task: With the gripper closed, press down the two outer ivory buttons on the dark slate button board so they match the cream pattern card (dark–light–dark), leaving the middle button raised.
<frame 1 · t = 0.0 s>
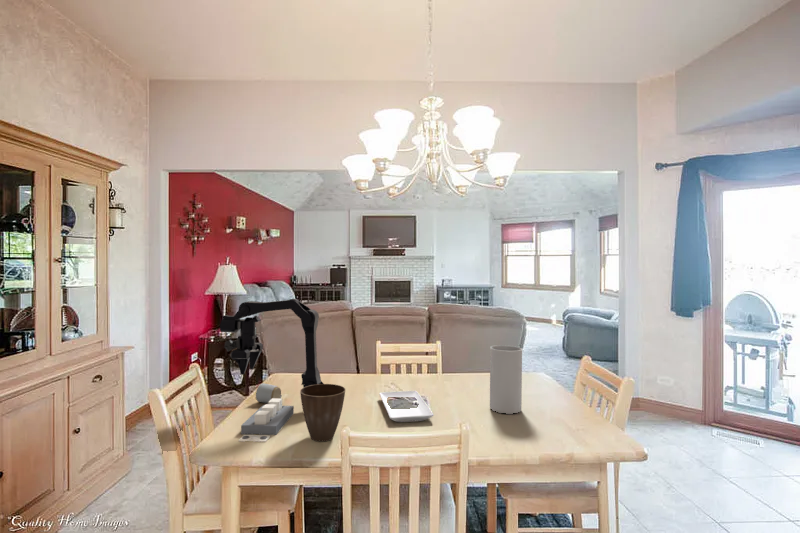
hand: (247, 371, 169), 15 cm above the table, tool pointing down, fingers open, 9 cm apart
tray: (404, 411, 169), on the table
button 1: (262, 418, 146), point 4 cm above the table, slide at 0.0 cm
pattern card: (254, 438, 139), on the table
button 2: (275, 405, 160), point 4 cm above the table, slide at 0.0 cm
cylinder vase: (505, 410, 171), on the table
ceramic mug: (270, 402, 178), on the table
button board: (269, 423, 153), on the table
button middle: (269, 411, 153), point 4 cm above the table, slide at 0.0 cm
plant pot: (322, 437, 141), on the table
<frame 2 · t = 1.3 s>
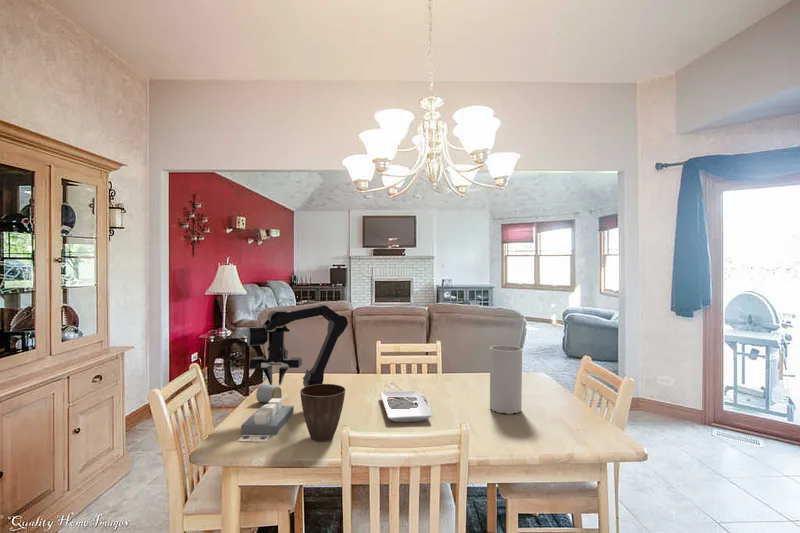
hand: (275, 384, 160), 12 cm above the table, tool pointing down, fingers open, 3 cm apart
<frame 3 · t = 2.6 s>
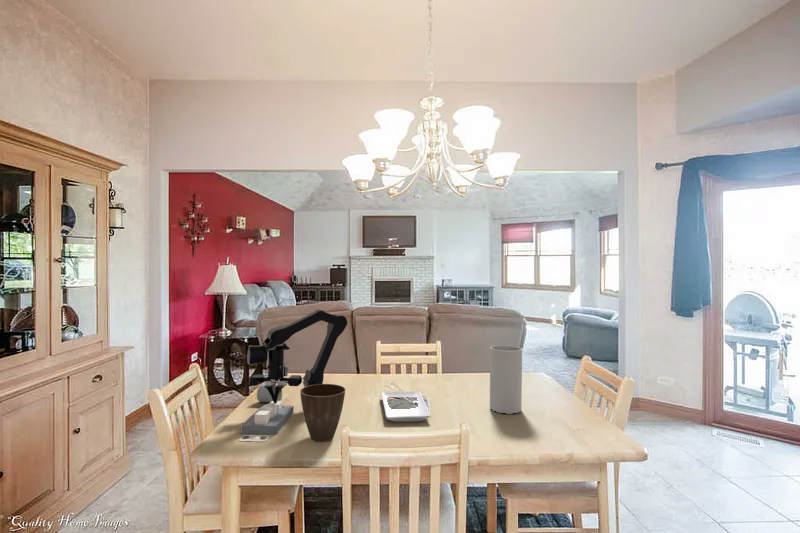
hand: (275, 402, 160), 5 cm above the table, tool pointing down, fingers closed, pressing on button 2
button 2: (275, 408, 160), point 3 cm above the table, slide at 1.1 cm, touching gripper
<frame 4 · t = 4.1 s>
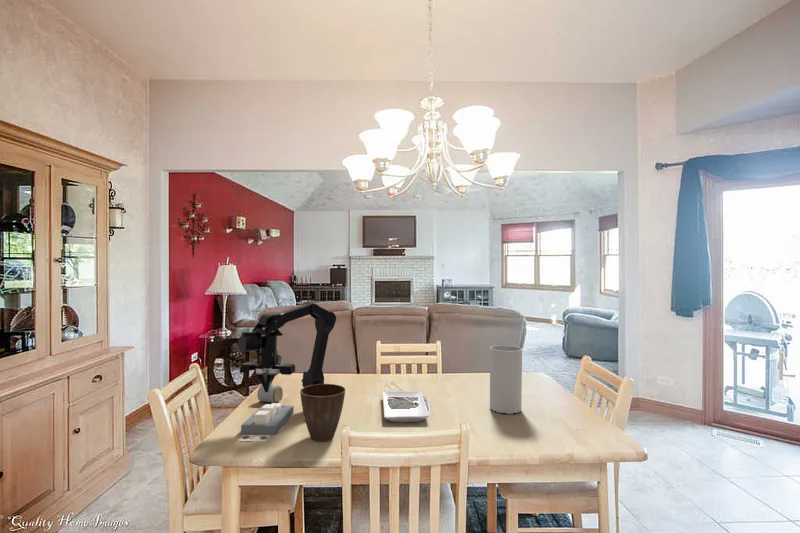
hand: (266, 392, 152), 12 cm above the table, tool pointing down, fingers closed
button 2: (275, 410, 160), point 2 cm above the table, slide at 1.8 cm
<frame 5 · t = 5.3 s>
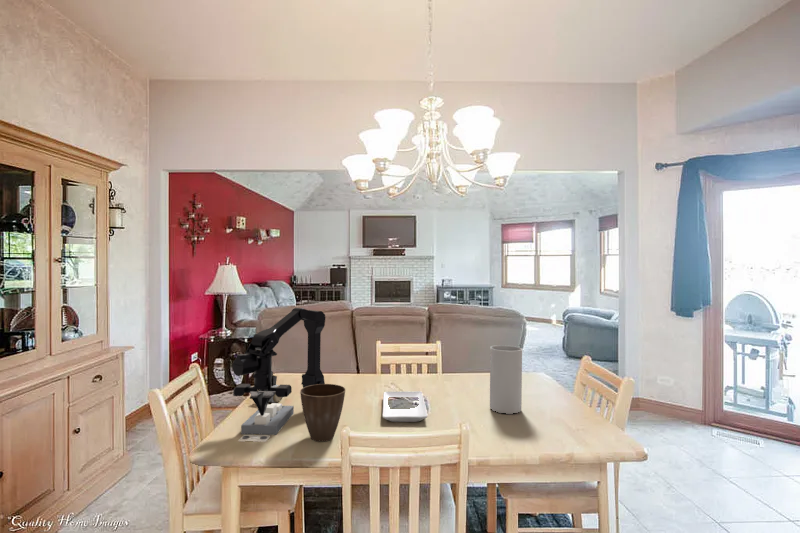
hand: (262, 415, 146), 5 cm above the table, tool pointing down, fingers closed, pressing on button 1
button 1: (262, 420, 146), point 3 cm above the table, slide at 0.8 cm, touching gripper
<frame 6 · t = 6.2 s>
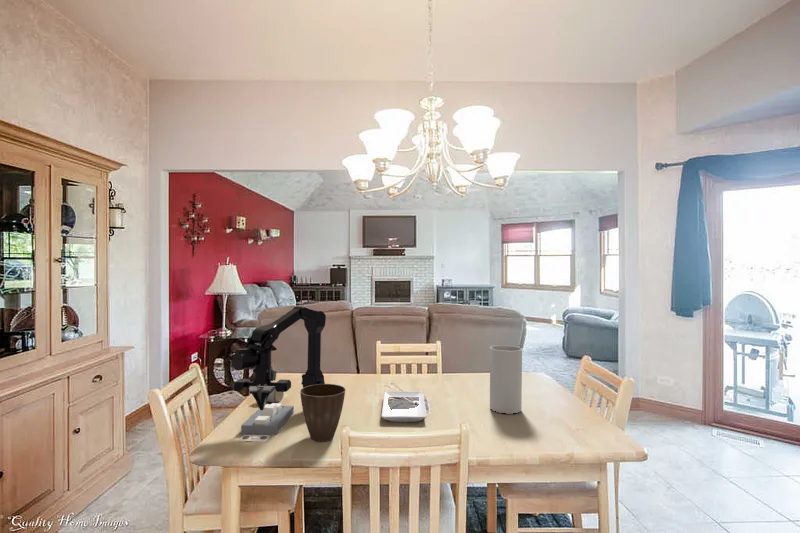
hand: (262, 409, 146), 7 cm above the table, tool pointing down, fingers closed
button 1: (262, 423, 146), point 2 cm above the table, slide at 1.8 cm
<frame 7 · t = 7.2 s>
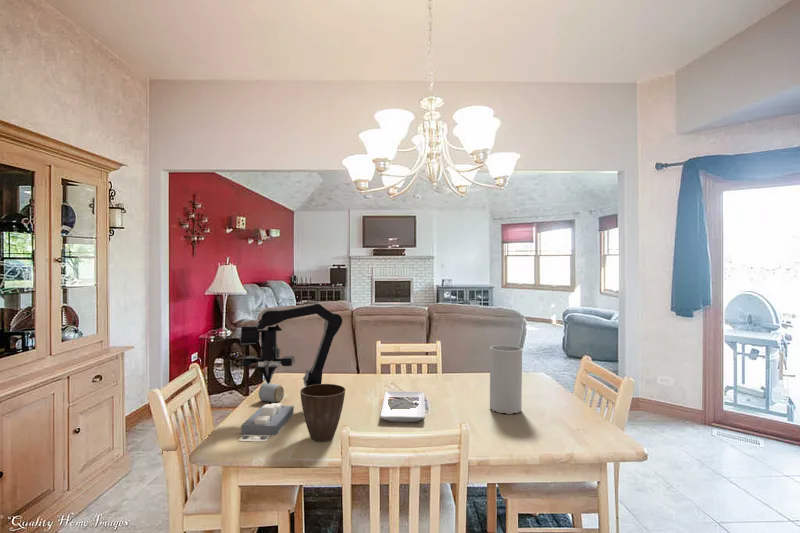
hand: (268, 383, 161), 12 cm above the table, tool pointing down, fingers closed
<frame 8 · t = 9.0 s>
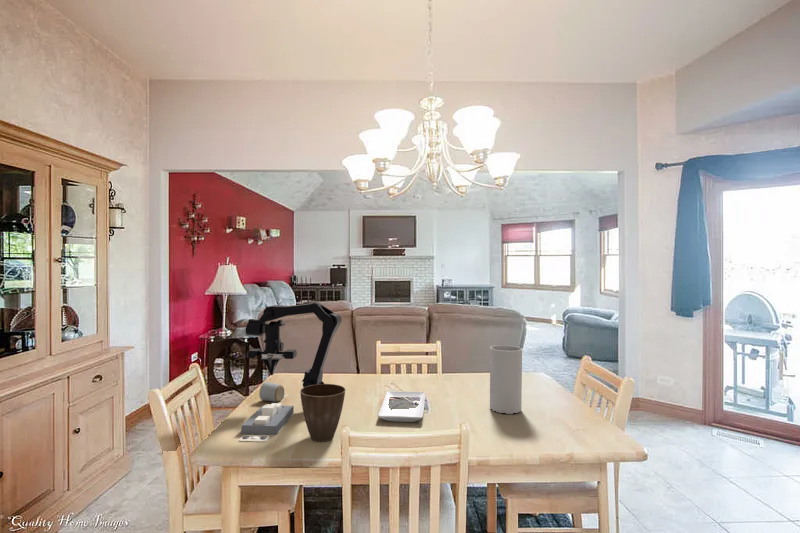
hand: (271, 374, 170), 13 cm above the table, tool pointing down, fingers closed
at the end: button 2 slide at 1.8 cm; button 1 slide at 1.8 cm; button middle slide at 0.0 cm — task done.
